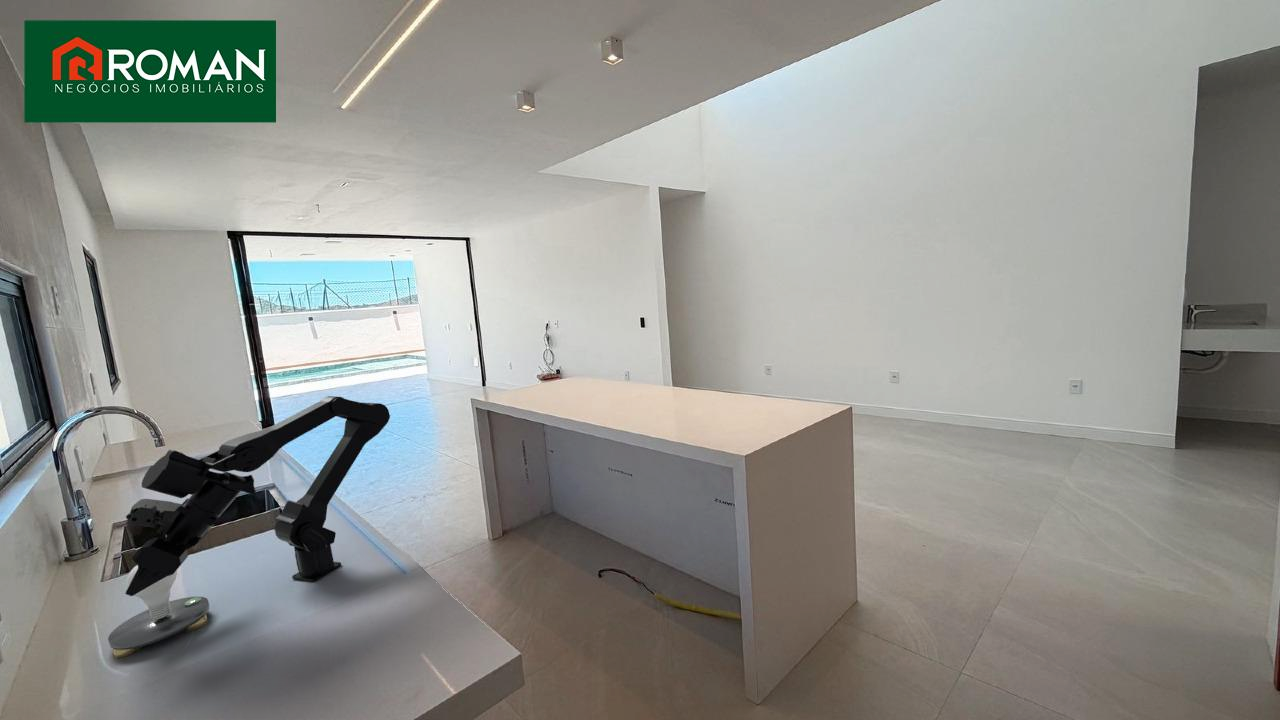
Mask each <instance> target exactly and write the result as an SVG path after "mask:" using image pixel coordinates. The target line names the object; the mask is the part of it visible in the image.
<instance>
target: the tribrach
mask: <svg viewBox="0 0 1280 720" xmlns="http://www.w3.org/2000/svg"><path fill="white" fill-rule="evenodd" d="M169 601H170V606H171V610H172V612H171V613H170V614H169V615H168V616H166V617H165V618H164V619H161V620H152V619H151V615H150V611H149V608H148V609H146V610H144V611H142V612H140V613H138V614H136V615H134V616H132V617H130V618H128V619H127V620H125V621H123V622H122V623H121V624H119V625H118V626H116V628H114V629H113V630H112V632H110V633H109V635H108V639H107V640H108V644H109V647H110V648H111V649H112V651H113V655H114V658H115V659H121V658H122V659H123V658H126V657H128V656H131V655H132V654H134V653H137V651H139V650H141V648H142V647H145V646H148V645H151V644H152V645H153V644H155V643H158V642H160V641H162V640H165V639H167V638H170V637H172V636H174V635H176V634H179V633H181V632H183V631H184V632H187V633H188V632H193V631H196V630H198V629H200V628H202V627H204V626H206V624H208V623H209V622H208V617H207V613H208V611H209V609H210V602H209V599H208V598H207V597H204V596H189V597H188V596H187V597H182V598H177V599H175V600H169Z"/></svg>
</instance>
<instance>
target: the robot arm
mask: <svg viewBox="0 0 1280 720" xmlns="http://www.w3.org/2000/svg"><path fill="white" fill-rule="evenodd" d="M335 417H338V418H341V419H344V420H345V423H344V431H343V435H342V437H341V439H340V440H339V442H338V443H337V445H336V447H335V448H334V450H333V451H332V452H331V454H330V456H329V457H328V459H327V460H326V461H325V463H324V465H323V467H322V468H321V470H320V471H319V473H318V474H317V476H316V477H315V479H314V481H313V482H312V483H311V485H310V487H309V488H308V490H307V491H306V493H305V494H303V496H302V497H300V498H299V499H298V500H297V501H293V500H288V501H286V503H285V505H284V507H283V509H282V510H281V512H280V513H279V514H278V515H277V516H276V517H275V518H274V519H275V520H276V523H275V524H274V525H275V526H274V529H273V530H274V533H275V536H276V538H277V539H279V540H280V541H282V542H285V543H287V544H288V545H289V546H291V547H293V548H294V556H295V561H296V567H297V571H298V572H297V573H295V574H293V575H291V577H292V578H291V579H294V580H300V581H308V582H316V581H318V580H319V579H321V578H323V577H324V576H326V575H327V574H330V573H331V572H333V571H334V570H335V569H337V568H340V567H341V566H342V562H339V561H334V557H333V552H332V551H333V550H332V546H331V545H333V544H334V543H335V540H336V531H333V530H331V529H329V528H326V527H324V525H325V522H326V520H327V513H328V506H329V503H330V502H331V500H332V499H333V497H334V496H335V494H336V493H337V490H339V489H338V488H339V486H340V485H341V484H342V482H343V481H344V479H345V477H346V476H347V474H348V472H349V471H350V469H351V468H352V466H353V464H354V463H355V461H356V460H357V458H358V457H359V455H360V453H361V451H362V449H363V448H364V447H365V445H366V444H367V443H368V442H369V441H371V440H372V439H374V438H375V437H376V436H377V435H379V434H380V432H381V431H382V430H384V428H385V427H386V426H387V424H388V423H389V421H390V418H391V415H390V410H389V409H388V407H387V406H386V405H385V404H383V403H380V402H379V403H376V402H375V403H374V402H364V401H362V402H359V401H356V400H355V401H354V400H350V399H347V398H345V397H342V396H333V395H332V396H331V395H328V396H325V397H323V398H322V399H321V400H319V401H318V402H316V403H314V404H312V405H310V406H308V407H306V408H304V409H302V410H301V411H299V412H296V413H295V414H292V415H291V416H289V417H287V418H285V419H283V420H280V422H277V423H276V424H273V425H272V426H269V427H267V428H265V429H262V430H258V431H255V432H250V433H246V434H243V435H241V436H238V437H235V438H232V439H229V440H227V441H225V442H224V443H222V444H221V445H220V447H219V448H218V450H216V451H214V452H211V453H210V454H207V455H205V456H203V457H200V458H194V457H191V456H188V455H186V454H184V452H180V451H178V450H175V449H168V450H167V452H166V453H165V455H163V456H162V457H160V458H159V459H157V460H156V461H155V463H154V464H153V465H150V467H149V468H148V469H147V471H146V473H145V474H144V476H143V477H142V481H141V488H143V489H146V490H150V491H153V492H157V493H161V494H165V495H167V496H170V497H175V498H179V499H184V498H186V497H187V496H188V495H191V496H190V497H189V498H186V499H185V500H184V501H183V502H182V503H177V502H173V501H167V500H160V499H152V498H142V499H140V500H138V501H137V502H136V503H134V504H133V505H132V506H131V509H130V512H129V513H127V515H126V516H125V518H126V523H125V525H127V526H129V527H137V526H138V527H148V528H158V529H157V530H156V533H158V534H160V535H163V536H165V539H163V538H161V537H155V538H151V539H148V540H147V541H145V542H144V544H143V545H141V547H140V548H139V549H138V550H137V551H136V552H135V554H133V556H132V557H131V560H132V562H133V563H134V564H136V565H137V566H138V569H137V571H136V574H135V575H134V577H133V579H132V581H131V583H130V585H129V587H128V589H126V591H125V593H124V594H125V595H127V596H129V597H133V596H135V594H137V593H139V592H140V591H142V590H144V589H145V588H147V587H149V586H151V585H152V584H154V583H156V582H158V581H160V580H161V579H163V578H165V577H167V576H170V575H173V574H174V573H175V571H176V570H177V571H178V569H179V568H180V567H181V566H182V564H183V563H184V562H185V561H186V559H187V558H188V557H189V554H188V550H189V549H191V548H193V547H196V545H197V544H198V543H199V542H200V541H201V540H202V539H204V537H205V536H206V535H207V534H208V533H209V531H210V530H211V529H212V528H213V526H214V524H215V523H216V522H217V520H218V519H219V518H220V517H221V516H222V514H223V513H224V512H225V511H226V509H228V507H229V506H230V505H231V504H232V502H233V501H235V499H236V498H237V497H238V495H239V494H241V492H244V493H247V494H250V495H256V493H257V491H256V489H255V479H254V477H253V475H252V474H248V475H245V476H243V475H241V476H240V475H237V474H234V473H232V472H231V471H236V472H241V473H242V472H243V473H251V472H254V471H256V470H258V469H260V467H262V466H264V464H266V463H267V462H268V461H270V460H271V459H272V458H273V457H275V455H277V453H278V452H279V450H280V449H281V448H283V447H284V446H285V445H287V444H289V443H291V442H292V441H294V440H296V439H298V438H299V437H301V436H303V435H305V434H307V433H308V432H310V431H313V430H314V429H315V428H317V427H319V426H321V425H323V424H325V423H326V422H329V421H330V420H332V419H333V418H335ZM212 470H213V471H212ZM215 471H218V472H215Z"/></svg>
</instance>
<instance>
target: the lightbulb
mask: <svg viewBox="0 0 1280 720" xmlns="http://www.w3.org/2000/svg"><path fill="white" fill-rule="evenodd" d="M137 569H138V566H137V564H136V565H135V566H134V567H132V569H131V570H130V571H129V573H128V574H127V578H126V579H125V580H126V585H125V586H126V588H127V589H128V587H129V585H130V583H131V581H132V579H133V577H134V575H135V574H136V571H137ZM177 572H178V569H177V570H176V571H175V573H174V574H173V575H170V576H167V577H165V578H163V579H161V580H160V581H158V582H156V583H154V584H152V585H151V586H149V587H147V588H145V589H144V590H142V591H140V592H139V593H137V594H135V595H134V596H135V597H136V598H139V599H140V600H142V602H143V603H144V605H145V606H147V608H148V609H149V611H150V615H151V619H152V620H161V619H164V618H165V617H166V616H168V615H169V614H170V613H171V612H172V610H171V606H170V601H171V600H170V597H171V590H172V589H171V588H172V586H173V585H174V583H175V580H176V578H177V575H178V573H177ZM127 589H126V590H127Z"/></svg>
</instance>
